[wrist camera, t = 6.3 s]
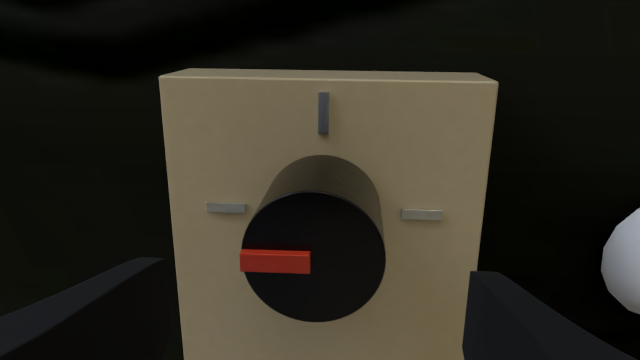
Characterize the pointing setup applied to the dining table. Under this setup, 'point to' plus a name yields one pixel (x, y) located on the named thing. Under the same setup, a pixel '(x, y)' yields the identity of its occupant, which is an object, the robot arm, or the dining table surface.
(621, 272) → the white jar
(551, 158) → the dining table surface
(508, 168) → the dining table surface
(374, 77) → the panel
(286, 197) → the knob
